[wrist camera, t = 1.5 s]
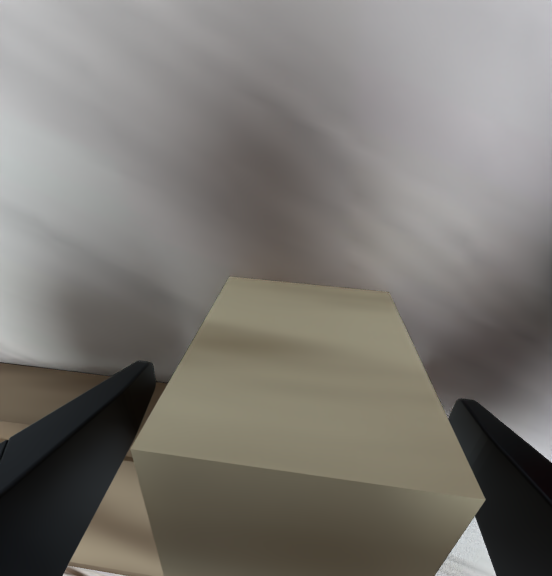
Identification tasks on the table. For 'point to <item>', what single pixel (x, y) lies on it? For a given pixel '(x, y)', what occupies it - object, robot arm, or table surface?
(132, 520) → the base board
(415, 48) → the table surface
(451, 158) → the table surface
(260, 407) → the oak block
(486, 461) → the robot arm
